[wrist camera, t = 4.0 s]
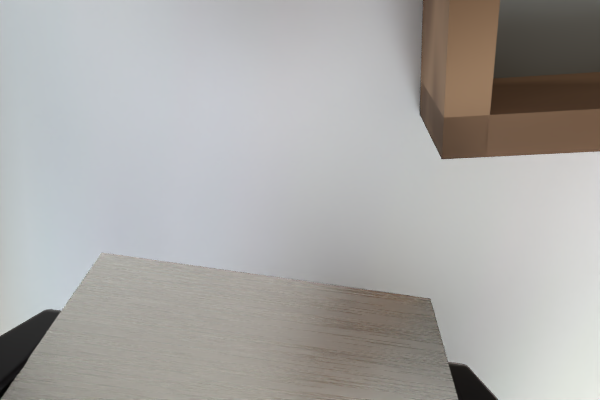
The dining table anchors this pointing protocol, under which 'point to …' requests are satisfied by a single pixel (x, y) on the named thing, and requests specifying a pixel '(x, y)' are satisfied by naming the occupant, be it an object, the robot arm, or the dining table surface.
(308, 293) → the white stepped block
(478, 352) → the dining table surface
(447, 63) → the arena
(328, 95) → the dining table surface
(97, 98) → the dining table surface
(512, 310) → the dining table surface
